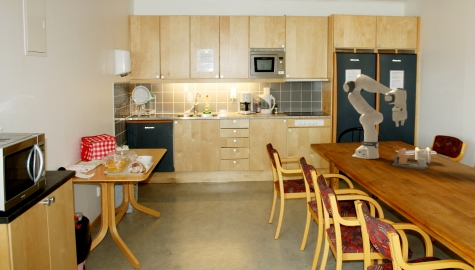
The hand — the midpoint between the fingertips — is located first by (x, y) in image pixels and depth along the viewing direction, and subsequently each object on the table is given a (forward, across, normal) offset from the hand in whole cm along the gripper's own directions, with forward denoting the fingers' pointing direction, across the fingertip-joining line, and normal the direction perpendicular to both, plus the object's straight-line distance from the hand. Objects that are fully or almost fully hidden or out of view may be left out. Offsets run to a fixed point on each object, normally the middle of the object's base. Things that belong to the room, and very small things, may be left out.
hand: (399, 125), depth 355 cm
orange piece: (+29, +5, +6) cm, 30 cm away
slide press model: (+31, +5, +11) cm, 33 cm away
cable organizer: (+31, -16, +13) cm, 37 cm away
